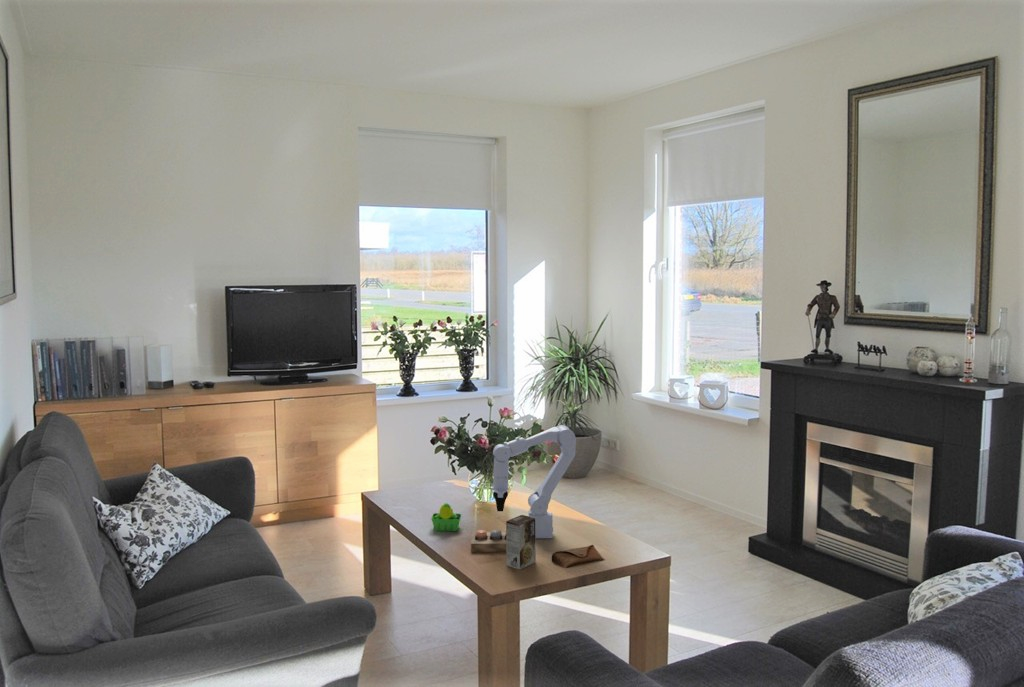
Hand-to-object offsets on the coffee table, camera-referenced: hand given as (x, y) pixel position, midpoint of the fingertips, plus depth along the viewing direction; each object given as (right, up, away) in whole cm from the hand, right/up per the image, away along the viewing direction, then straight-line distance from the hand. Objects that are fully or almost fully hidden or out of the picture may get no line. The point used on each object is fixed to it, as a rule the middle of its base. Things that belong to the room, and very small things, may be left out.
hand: (500, 510), depth 310 cm
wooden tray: (-1, -11, -8) cm, 14 cm away
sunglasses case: (+28, -13, -23) cm, 39 cm away
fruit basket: (-21, -10, +11) cm, 26 cm away
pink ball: (-7, -10, -8) cm, 14 cm away
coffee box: (+8, -13, -27) cm, 31 cm away
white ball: (+4, -10, -8) cm, 13 cm away
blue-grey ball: (-1, -10, -8) cm, 13 cm away
